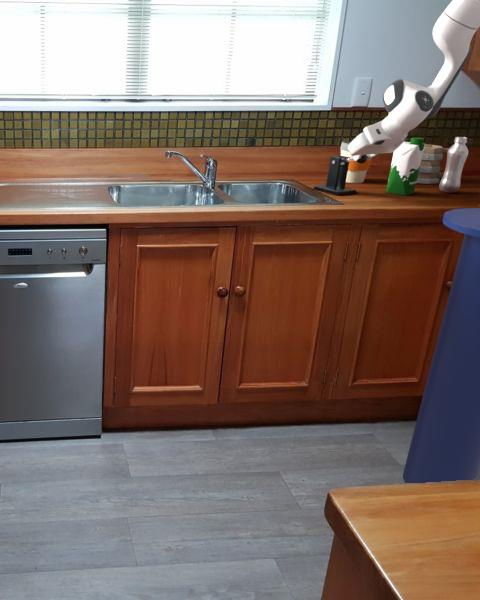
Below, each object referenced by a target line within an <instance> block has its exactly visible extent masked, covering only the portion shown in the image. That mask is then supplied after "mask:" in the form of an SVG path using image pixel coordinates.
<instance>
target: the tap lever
mask: <svg viewBox="0 0 480 600" xmlns="http://www.w3.org/2000/svg"><path fill="white" fill-rule="evenodd" d="M351 161H354V159H353V158H351V159H345V158H342V160H341V165H344V164H345V162H351ZM366 161H367V155H363V156H361V159H360V160H359V161H357V162H358V163H360V164H363V163H365V162H366Z"/></svg>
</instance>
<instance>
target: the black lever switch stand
mask: <svg viewBox="0 0 480 600" xmlns="http://www.w3.org/2000/svg"><path fill="white" fill-rule="evenodd" d="M342 158H345V159H350V157H346V156H341V155H338V156H334V155H331V156H330V160H329V165H328V172H327V177H326V183H325V184H319V185H313V190H315V191H320V192H323V193H326V194H330V195H334V196H337V197H338V196H346V195H355V194H357V191H358V190H357V189H353V188H349V187H346V185H347V184H346V183H347V182H346V178H347V172H348V166H349V162H345V164H344V165H341V160H342Z"/></svg>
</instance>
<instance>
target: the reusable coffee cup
mask: <svg viewBox="0 0 480 600" xmlns="http://www.w3.org/2000/svg"><path fill="white" fill-rule="evenodd" d="M352 141H353V140H343V141H342V142H341V145H340V147H339V148H340V156H346V157H350V159H351V158H353V157H354V156H352V155H351V154H350V152H349V150H348V146H349V144H350V143H351V142H352ZM372 161H373V157H372V158H370V159H369V160H367V161H366V162H365V163H363V164H360V163H358V162H357V161H351V162H349V166H348V172H347V178H346V183H350V184H361V183H364V182H365V179H366V175H367V172H368V170H369V169H370V166H371V165H372Z"/></svg>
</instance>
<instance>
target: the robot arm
mask: <svg viewBox="0 0 480 600" xmlns="http://www.w3.org/2000/svg"><path fill="white" fill-rule="evenodd" d="M479 29H480V0H451V1H450V3H449V4H448V5H447V6H446V8H445V9H444V10H443V12H442V13H441V14H440V16H438V18H437V20H436V22H435V23H434V26H433V28H432V40H433V42H434V43H435V45H436V47H437V48H438V49H439V50H440V51H441V53H442V54H443V55H444V62H443V64H442V67H441V68H440V70H439V72H438V73H437V75H436V77H435V79H434V80H433V82H432V83H431V85H429V86H426V87H425V86H422V85H419V84H417V83H415V82H412V81H409V80H405V79H401V78H400V79H396V80H394V81H393V82H391V83H390V84H389V85H388V86H387V87H386V89H385V90H384V92H383V93H382V102H383V105H384V108H385V111H386V112H387V113H388V115H387V116H386V117H384V119H382V120H380V121H378V122H375V123H374V124H369V125H366V126H365V127H364V128H363V129H362V130H363V131H362V132H361V133H359V134H358V135H357V136H356V137H355V138H353V140H351V141H352V142H351V143H350V144H349V146H348V150H349V152H350V154H351V155H352V156H354V157H353V159H354V161H359V160H360V159H361V156H363V155H367V160H369V159H370V158H372V159H373V158H374V157H376V156H378V155H380V154H391V153H394V151H395V150H396V149H397V148H398V147H399V146H400V145H401V144H402V143H403V142H405V140H406V138H407V137H408V135H409V132H411V131H412V130H414V129H415V128H417V127H418V126H419V125H420V124H421V123H423V122H424V121H426V120H429V119H431V118H432V117H434V116H435V115H436V114H437V113H438V112H439V111H440V108H441V107H442V105H443V102H444V99H445V98H446V96H447V94H448V92H449V91H450V89H451V88H452V85H453V84H454V82H455V81H456V79H457V78H458V76H459V74H460V73H461V71H462V69H464V66H465V65H466V62H467V61H468V60H469V58H470V55H471V51H472V46H471V43H472V39H473V37H474V35H475V34H476V32H477V31H478V30H479Z"/></svg>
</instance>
